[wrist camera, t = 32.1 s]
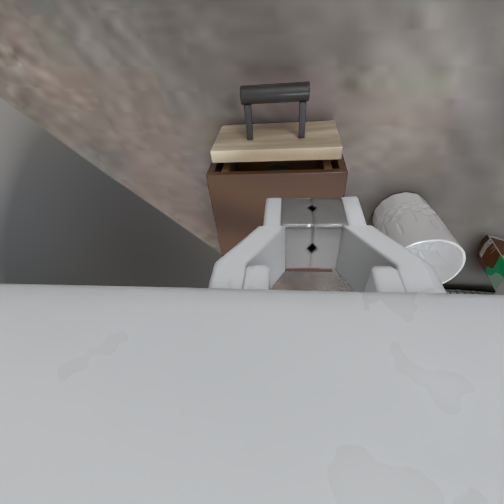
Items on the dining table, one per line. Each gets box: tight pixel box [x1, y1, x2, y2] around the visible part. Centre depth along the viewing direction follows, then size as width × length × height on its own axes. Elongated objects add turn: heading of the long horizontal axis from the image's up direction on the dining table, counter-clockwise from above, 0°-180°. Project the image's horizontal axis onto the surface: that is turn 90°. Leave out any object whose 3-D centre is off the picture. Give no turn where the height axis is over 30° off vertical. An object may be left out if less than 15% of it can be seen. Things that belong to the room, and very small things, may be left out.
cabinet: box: [206, 154, 348, 272], centre depth 35 cm, size 13×13×8 cm
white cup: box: [372, 192, 466, 284], centre depth 35 cm, size 8×8×10 cm
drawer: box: [210, 82, 343, 172], centre depth 32 cm, size 17×12×7 cm
